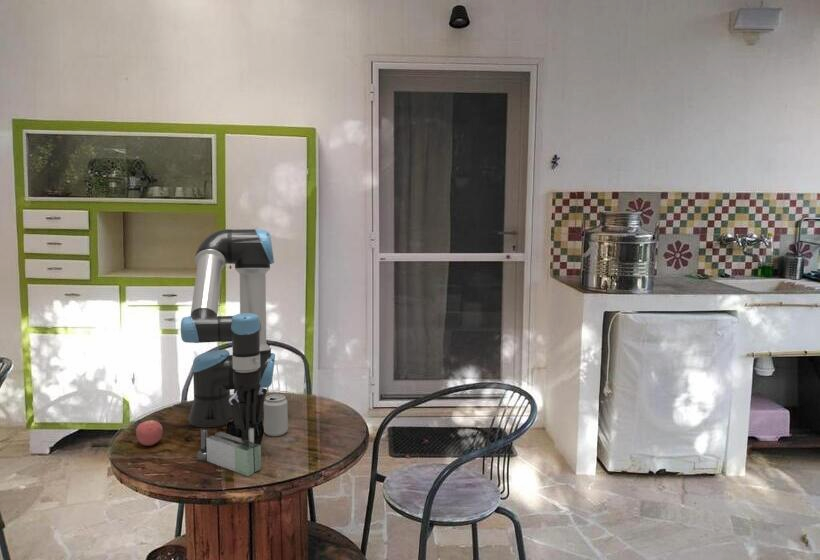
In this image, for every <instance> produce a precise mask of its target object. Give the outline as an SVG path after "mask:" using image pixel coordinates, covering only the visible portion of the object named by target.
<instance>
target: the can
mask: <svg viewBox="0 0 820 560" xmlns="http://www.w3.org/2000/svg"><path fill="white" fill-rule="evenodd" d="M288 413H289V412H288V400H287V399H286V396H285V395H283V394H270V395H268V396H265V399H264V404H263V432H264V433H265V434H266V435H267V436H269V437H281V436H283V435H285V434H286V433H287V432H288V430H289V429H288V428H289V424H288V421H289V420H288V417H289V416H288Z"/></svg>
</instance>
